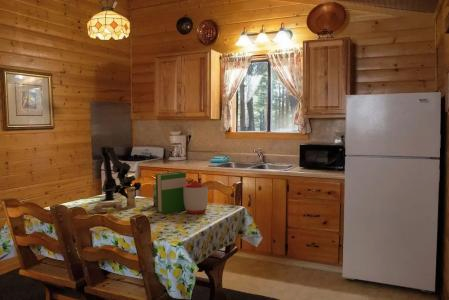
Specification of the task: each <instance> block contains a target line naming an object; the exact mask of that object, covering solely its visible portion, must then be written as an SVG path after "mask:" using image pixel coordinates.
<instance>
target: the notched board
mask: <svg viewBox="0 0 449 300" xmlns="http://www.w3.org/2000/svg"><path fill="white" fill-rule="evenodd" d="M122 206H123V201H122V200H120V201H119V200H118V201H117V200H116V201H105V202H104V201H103V202H102V201H101V202H97V204H96V206H95V211H97V212H98V211H102V210H103V208H114V207H115V209H116V210H122V208H123V207H122Z"/></svg>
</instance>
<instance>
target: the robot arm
mask: <svg viewBox="0 0 449 300" xmlns="http://www.w3.org/2000/svg"><path fill="white" fill-rule="evenodd" d="M98 152H99V156H100V157H101V158H102V162H103V170H104V176H105V178H104V180H103V185H102V188H101V190H102V192H103V193H104V195H105V197H104V201H114V200H115V197H114V194H118V195H119V194H120V195H122V197H124V198H125V199H126V200H127V199H128V196H127V191H126V189H125V188H127V187H135V198H136V197H137V191H140V189H141V187H142V183H141V182H139V181H138V182H134V181H135V180H136V176H135V175H131V176H130V175H129V176H128V174H129V173H130V170H131V168H132V167H131V165H130V164H128V163H127V162H122V161H120V159H119V158H118V155H117V154H116V152H115V148H114V146H110V145H103V146H99V148H98ZM111 163H112V165H111ZM112 171H113V172H114V174H115V173H116V174H117V175H116V179H118V180H119V184H117V181H116V179H115V178H114V177H113V173H112ZM133 182H134V184H132V183H133Z"/></svg>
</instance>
